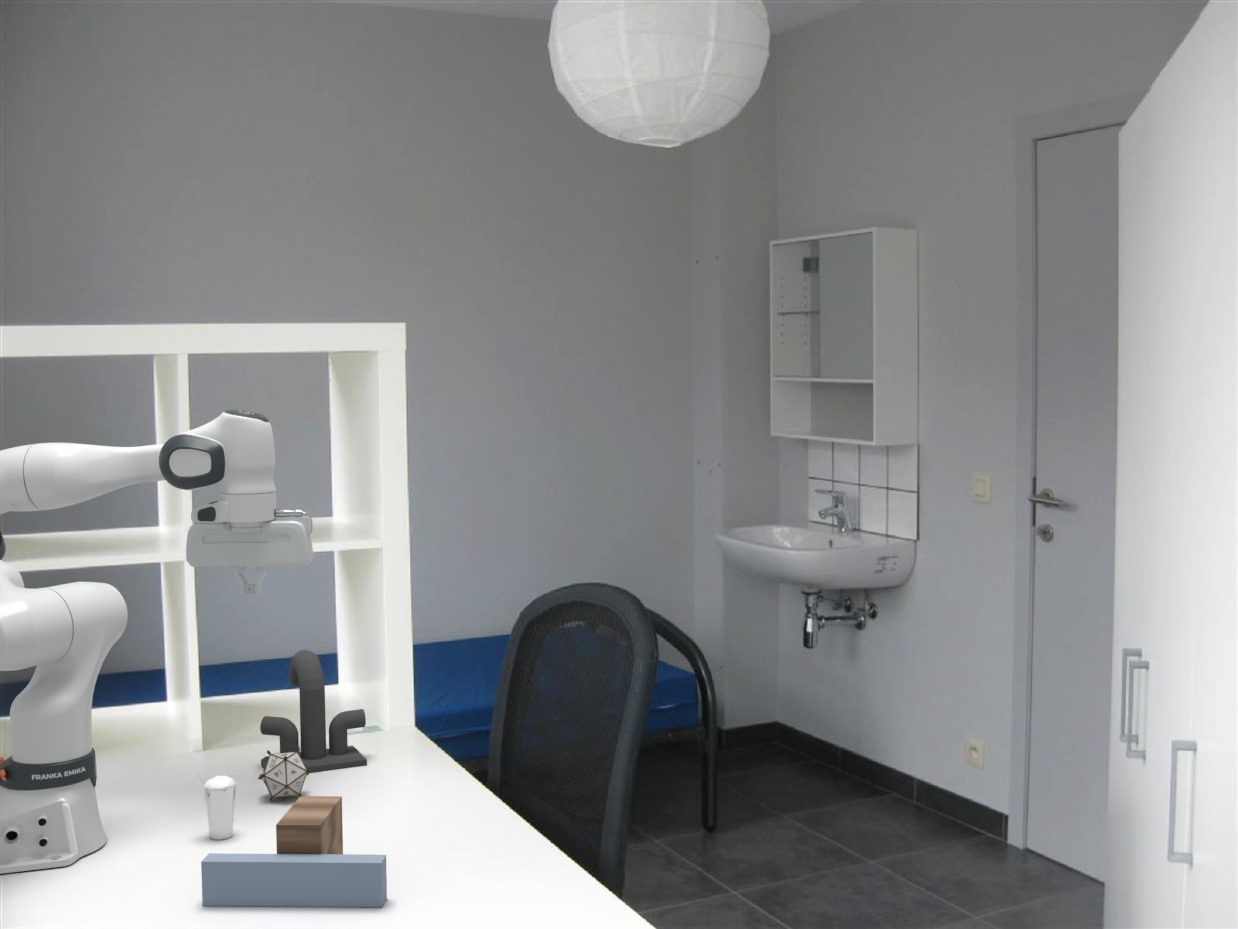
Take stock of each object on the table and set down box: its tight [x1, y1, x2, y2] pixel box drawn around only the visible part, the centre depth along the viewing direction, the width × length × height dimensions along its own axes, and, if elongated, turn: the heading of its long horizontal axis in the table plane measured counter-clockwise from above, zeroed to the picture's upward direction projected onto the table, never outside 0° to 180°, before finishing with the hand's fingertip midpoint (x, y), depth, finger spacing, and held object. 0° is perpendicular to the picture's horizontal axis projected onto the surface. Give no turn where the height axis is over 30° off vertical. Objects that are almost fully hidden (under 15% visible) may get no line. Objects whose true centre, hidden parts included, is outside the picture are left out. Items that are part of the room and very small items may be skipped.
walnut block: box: [275, 795, 344, 854], centre depth 187 cm, size 12×6×10 cm, turn 178°
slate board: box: [200, 852, 388, 908], centre depth 179 cm, size 24×3×6 cm, turn 88°
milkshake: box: [198, 773, 236, 841], centre depth 204 cm, size 4×5×10 cm
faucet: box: [259, 649, 368, 774], centre depth 243 cm, size 18×16×20 cm
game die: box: [257, 746, 312, 803], centre depth 222 cm, size 9×8×10 cm
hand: (251, 593), depth 221 cm, fingers closed
